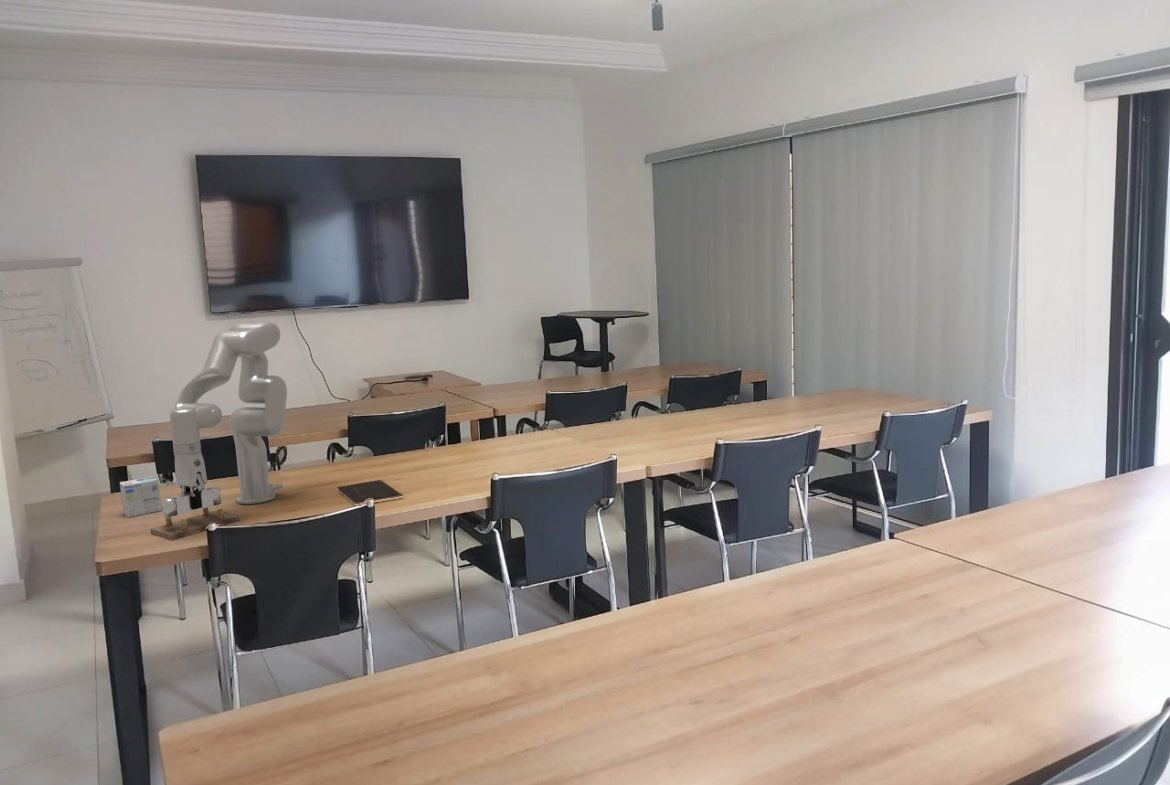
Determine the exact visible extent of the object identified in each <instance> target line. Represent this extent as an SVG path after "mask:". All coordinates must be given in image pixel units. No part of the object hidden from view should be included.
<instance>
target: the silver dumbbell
mask: <svg viewBox="0 0 1170 785" xmlns="http://www.w3.org/2000/svg"><path fill="white" fill-rule="evenodd" d="M190 497H192V496H191V492H190V493H186V494H182V493H181V494H178V495H174V496H169V497H163V498H162V499H161V506H162V512H163V517H164V518H165V517H171V518H172V517H175V516H179V515H182V514H183V515H184V514H185V513H191V512H194V511H198V510H203V508H207V507H208V508H211V507H213V506H214V507H215V506H219V505H221V504H222V495H221V488H220V486H210V487H207V488H205V489H204V490H202V495H201V499H202V508H199V509H195V510H192V509H191V500H190Z"/></svg>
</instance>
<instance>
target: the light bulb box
mask: <svg viewBox="0 0 1170 785" xmlns="http://www.w3.org/2000/svg"><path fill="white" fill-rule="evenodd" d="M119 489H120V496H121V500H122V509H123V510H122V511H123V514H124V516H126V517H127V518H130V517H131V518H133V517H136V516H141V515H146V513H147V514H151V512H152V513H156V511H157V512H162V511H163V505H162V499H161V493H160V491H161V490H160V485H159V479H158V478H156V477H155V476H154V475H153V476H148V477H144V478H143V477H142V478H136V479H131V480H126V481H120V482H119ZM161 510H162V511H161Z"/></svg>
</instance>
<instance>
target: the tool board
mask: <svg viewBox="0 0 1170 785" xmlns="http://www.w3.org/2000/svg"><path fill="white" fill-rule="evenodd" d="M164 518H165V524H163V525H160V526H155V527H152V528H150V534H151V535H153V534H154V536H157V537H160V538H163V537H164V539H166V538H167V539H166V540H170V541H174V540H178V539H180V538H184V536H185V537H187V536H186V535H188V536H190V535H189V534H191V535H194V534H193V533H195V532H198V531H202V532H204V531H203V530H205V529H206V527H207V526H208V525H209V524H211V523H216V524H225V525H228V524H232V523H235V522H238V521H241V518H240V515H238V514H234V513H231V512H226V511H224V508H219V509H217V510H213V511H210V510H209V507H207V508H203V509H202V514H199V515H196V516H192V517H189V518H185V519H184V518H183V519H180V520H178V521H174V522H173V519H172V517H164ZM205 531H206V530H205ZM198 533H199V532H198ZM195 534H196V533H195ZM173 539H174V540H173Z"/></svg>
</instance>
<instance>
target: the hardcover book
mask: <svg viewBox="0 0 1170 785" xmlns="http://www.w3.org/2000/svg"><path fill="white" fill-rule="evenodd" d="M336 489H337V490H338V493H339V492H340V493H342V494H343V495H344V496H345V497H346V498H347V499H346V498H345V497H344V496H343V495H342V494H341V495H342V496H343V497H344V498H345V499H346V500H347V501H348V502H350V501H351V502H352V503H353V504H360V503H363V502H364V501H365V500H366V499H368V498H373V499H374V500H375V501H376V500H381V499H387V498H394V497H399V496H403V494H402V493H401V492H399V491H398V490H397V489H395V488H393V487H392V486H391V485H389V483H386V482H385V481H383V480H381V479H376V480H373V481H372V480H371V481H367V482H366V481H365V482H359V483H352V484H346V485H341V486H336ZM340 493H339V494H340ZM403 497H404V496H403ZM351 502H350V503H351ZM352 503H351V504H352ZM353 504H352V505H353Z"/></svg>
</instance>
